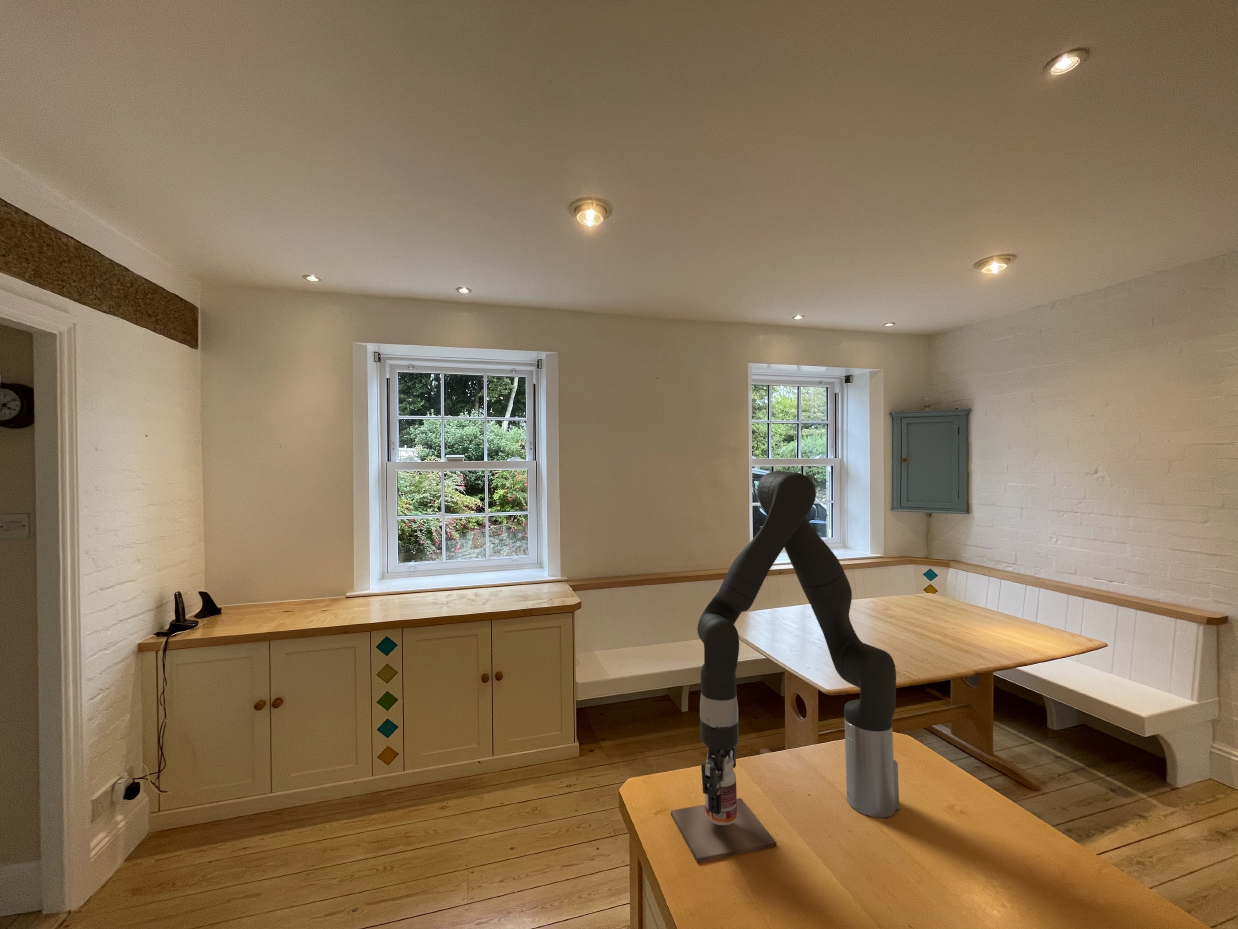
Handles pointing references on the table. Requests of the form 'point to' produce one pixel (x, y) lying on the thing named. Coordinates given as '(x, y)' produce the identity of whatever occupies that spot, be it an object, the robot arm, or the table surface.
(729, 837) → the walnut board
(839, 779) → the table surface
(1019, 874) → the table surface
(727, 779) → the pill bottle
